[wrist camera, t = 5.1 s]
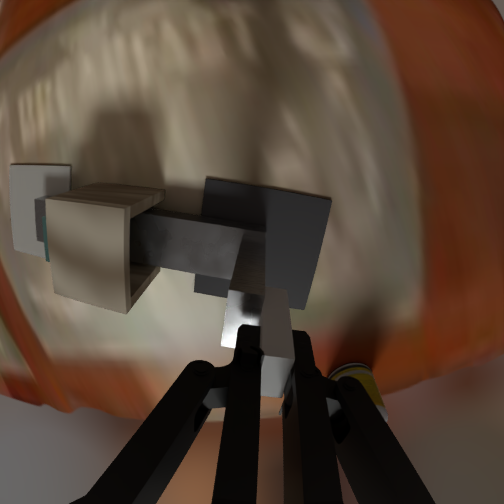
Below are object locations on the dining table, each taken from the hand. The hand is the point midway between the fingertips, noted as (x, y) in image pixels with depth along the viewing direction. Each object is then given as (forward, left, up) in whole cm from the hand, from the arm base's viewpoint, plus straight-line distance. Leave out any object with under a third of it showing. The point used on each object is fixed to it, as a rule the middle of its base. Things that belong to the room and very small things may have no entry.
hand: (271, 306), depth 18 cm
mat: (0, -29, -11) cm, 31 cm away
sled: (0, -14, -10) cm, 17 cm away
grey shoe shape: (0, -1, -11) cm, 11 cm away
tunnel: (0, -15, -11) cm, 19 cm away
